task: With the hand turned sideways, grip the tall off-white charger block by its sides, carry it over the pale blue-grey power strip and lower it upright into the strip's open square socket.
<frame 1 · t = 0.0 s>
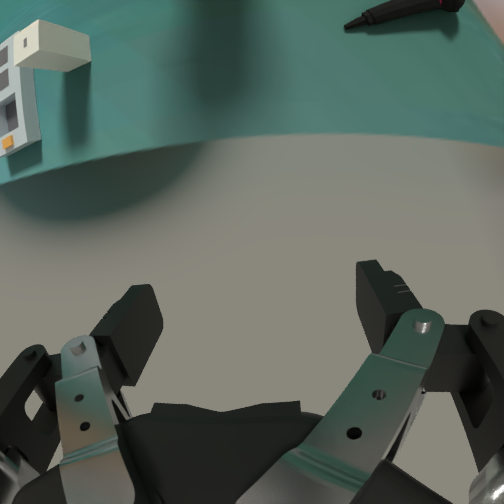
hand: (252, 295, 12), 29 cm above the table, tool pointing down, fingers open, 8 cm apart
microphone: (401, 5, 28), on the table
power strip: (17, 93, 35), on the table
charger: (77, 53, 33), on the table
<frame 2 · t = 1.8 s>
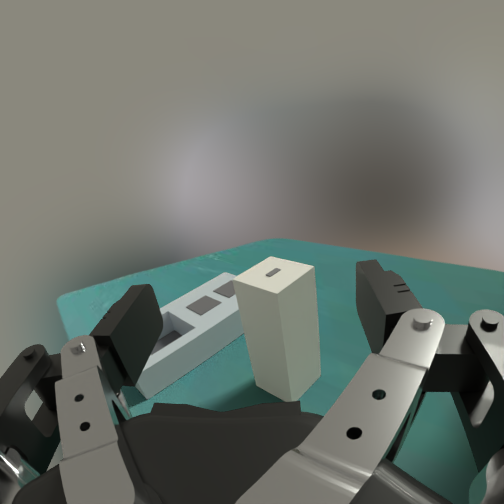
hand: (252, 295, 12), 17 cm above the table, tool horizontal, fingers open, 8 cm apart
power strip: (195, 337, 37), on the table
charger: (288, 381, 28), on the table
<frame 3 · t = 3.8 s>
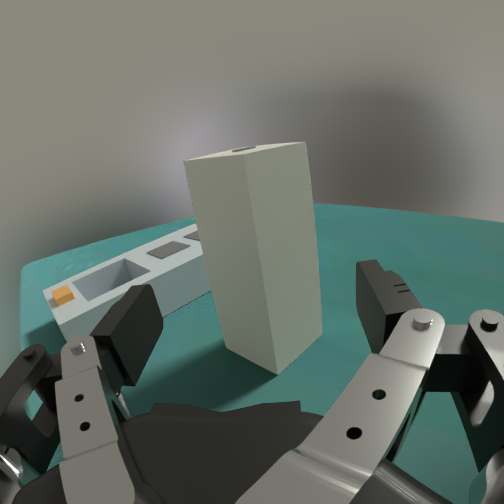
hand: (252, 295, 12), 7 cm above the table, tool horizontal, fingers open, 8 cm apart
power strip: (156, 293, 29), on the table
charger: (274, 341, 20), on the table
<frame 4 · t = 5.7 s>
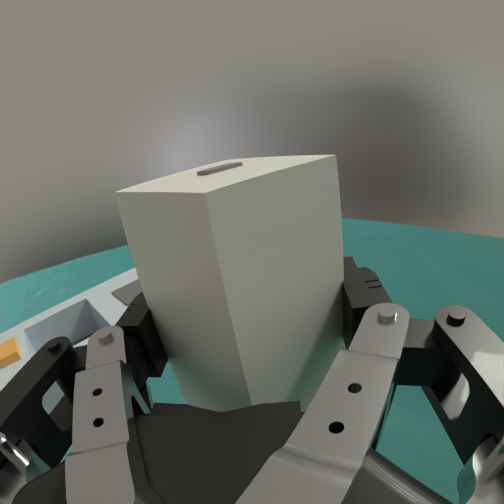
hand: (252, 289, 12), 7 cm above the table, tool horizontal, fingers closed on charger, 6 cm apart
power strip: (125, 343, 22), on the table
charger: (272, 439, 13), on the table, touching gripper
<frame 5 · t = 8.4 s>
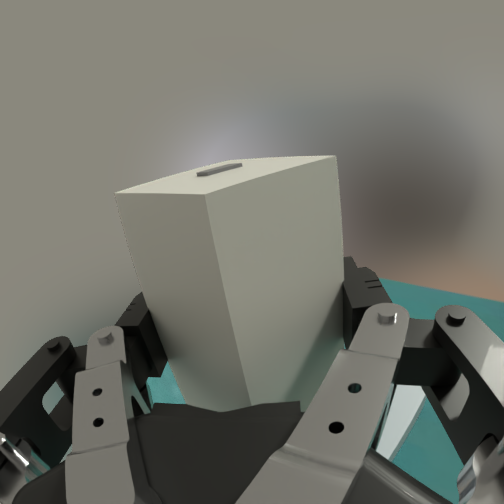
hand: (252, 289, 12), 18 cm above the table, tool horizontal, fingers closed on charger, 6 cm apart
power strip: (321, 471, 19), on the table
charger: (272, 440, 13), point 11 cm above the table, touching gripper
when the fingers open (9 cm above the table, at t = 11.0 s): charger drops 2 cm, resting on power strip.
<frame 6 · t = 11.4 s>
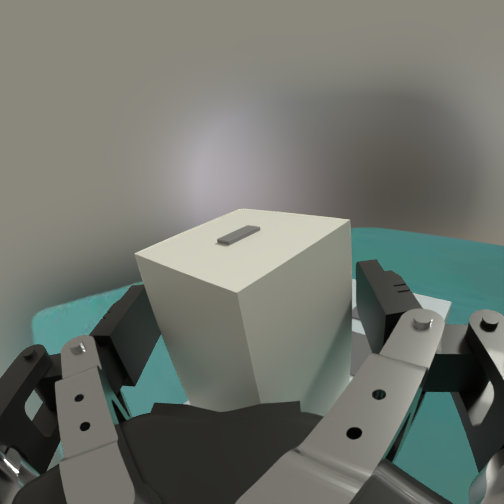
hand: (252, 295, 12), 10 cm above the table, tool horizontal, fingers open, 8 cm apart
power strip: (322, 416, 16), on the table
charger: (281, 459, 13), point 1 cm above the table, touching power strip
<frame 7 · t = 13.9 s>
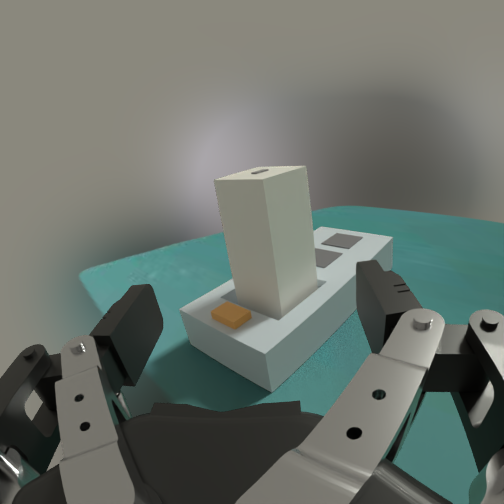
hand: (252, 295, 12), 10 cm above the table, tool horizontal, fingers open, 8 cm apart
power strip: (306, 303, 28), on the table
charger: (281, 320, 25), point 1 cm above the table, touching power strip
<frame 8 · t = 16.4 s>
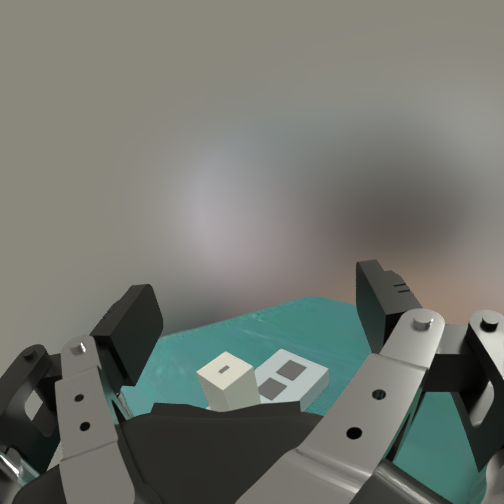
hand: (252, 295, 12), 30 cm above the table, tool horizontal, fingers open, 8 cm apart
power strip: (262, 414, 40), on the table
charger: (243, 430, 37), point 1 cm above the table, touching power strip
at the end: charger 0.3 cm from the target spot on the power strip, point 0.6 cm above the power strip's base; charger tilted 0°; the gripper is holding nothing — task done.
